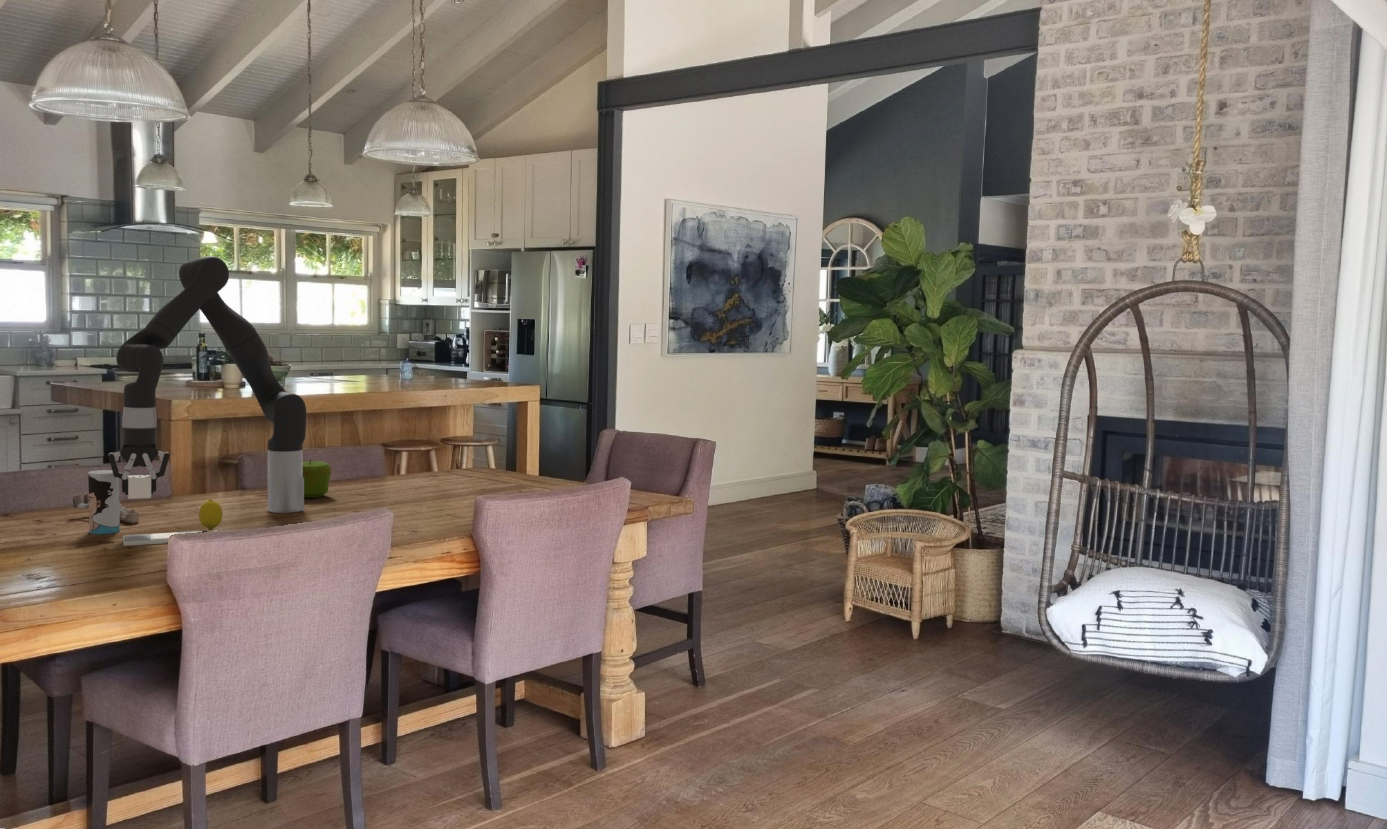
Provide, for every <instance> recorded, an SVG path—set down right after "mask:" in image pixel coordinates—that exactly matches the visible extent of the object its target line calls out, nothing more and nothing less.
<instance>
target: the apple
mask: <svg viewBox="0 0 1387 829" xmlns="http://www.w3.org/2000/svg"><path fill="white" fill-rule="evenodd" d="M309 460H310V461H303V477H304V499H317V498H322V497H323V496H324V495H326V494H327V493H328V492H329V482H330V477H331V473H332V467H331V465H330V464H329V463H328V462H326V461H320V460H319V461H316V460H312V459H309Z"/></svg>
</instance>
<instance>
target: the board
mask: <svg viewBox="0 0 1387 829" xmlns="http://www.w3.org/2000/svg"><path fill="white" fill-rule="evenodd" d="M217 530H218V529H215V530H214V529H212V530H210V531H217ZM202 531H203V530H199V531H198V530H197V531H196V530H195V531H194V530H193V531H178V532H163V533H162V532H160V533H144V534H125V535H123V536H122V542H123V546H124V547H125V546H128V547H129V546H141V545H159V544H160V545H162V544H168V543H167V541H168V539H169V537H170V536H171V535H174V534H185V533H197V532H202Z"/></svg>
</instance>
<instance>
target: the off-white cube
mask: <svg viewBox="0 0 1387 829" xmlns="http://www.w3.org/2000/svg"><path fill="white" fill-rule="evenodd" d="M127 498H128V499H129V500H131V499H134V500H135V499H152V494H151V476H150V474H135V475H133V474H132V475H130V474H129V475H128V495H127Z"/></svg>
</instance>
